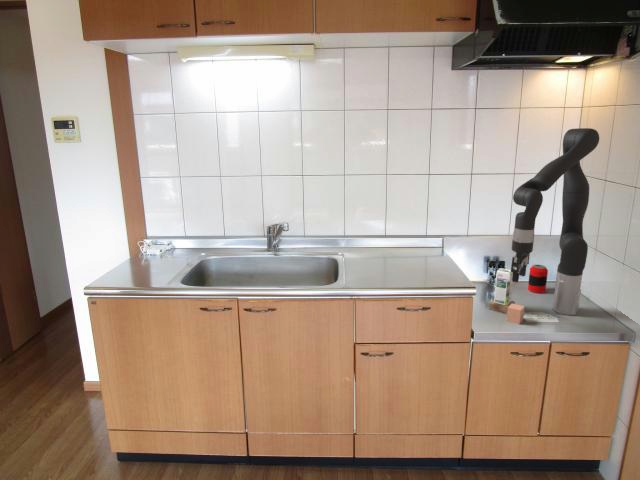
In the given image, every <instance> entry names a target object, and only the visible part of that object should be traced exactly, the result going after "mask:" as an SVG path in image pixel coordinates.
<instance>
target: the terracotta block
mask: <svg viewBox="0 0 640 480" xmlns="http://www.w3.org/2000/svg"><path fill="white" fill-rule="evenodd" d="M524 315H525V306H524V305H522V304H521V305H520V304H516V303H515V304H511V305H510V306H509V307H508V311H507V314H506V322H510V323H514V324H516V325H520V324H521V323H522V322H523V321H524Z"/></svg>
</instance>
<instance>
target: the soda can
mask: <svg viewBox="0 0 640 480" xmlns="http://www.w3.org/2000/svg"><path fill="white" fill-rule="evenodd" d="M548 274H549V270H548V269H547V266H545V265H543V264H533V265H531V267H529V275H528V283H527V284H528V285H527V290H528V291H529V292H530V293H533V294H544V293H546V289H547V281H548Z"/></svg>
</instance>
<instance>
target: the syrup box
mask: <svg viewBox="0 0 640 480" xmlns="http://www.w3.org/2000/svg"><path fill="white" fill-rule="evenodd" d="M512 277H513V272H511V269H506V268H502V267H501V268H498V269H497V271H496V276H495V278H496V279H495V288H494V296H493V297H494V299H493V300H494V303H498V304H502V305H506V306H507V305H508V304H509V303H510V302H511V301H512V292H513V285H514V282H513V281H512Z"/></svg>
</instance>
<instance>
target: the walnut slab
mask: <svg viewBox="0 0 640 480" xmlns="http://www.w3.org/2000/svg"><path fill="white" fill-rule="evenodd" d="M511 304H516V302H515V301H513V300H511V302H510V303H509V304H508V305H507V306H506V305H502V304H498V303H494V299H492V300H491V301H490V302H489V306H488V310H490V311H493V312H498V313H501V314H505V315H507V311H508V307H509V306H510V305H511Z"/></svg>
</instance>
